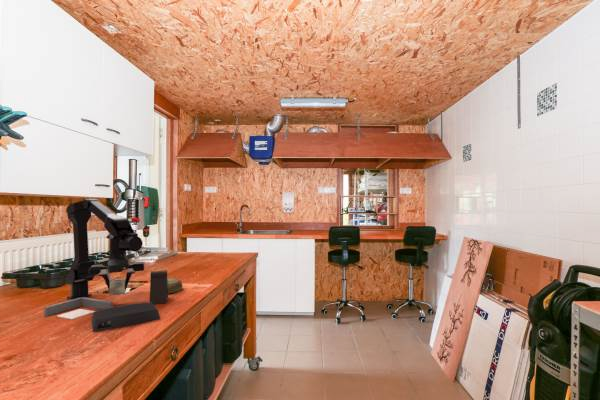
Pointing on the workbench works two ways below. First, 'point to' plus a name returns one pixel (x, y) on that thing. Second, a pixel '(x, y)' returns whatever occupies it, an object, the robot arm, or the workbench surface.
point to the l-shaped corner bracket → (77, 303)
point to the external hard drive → (124, 316)
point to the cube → (117, 287)
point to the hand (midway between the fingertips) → (117, 290)
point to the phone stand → (158, 287)
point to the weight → (174, 285)
